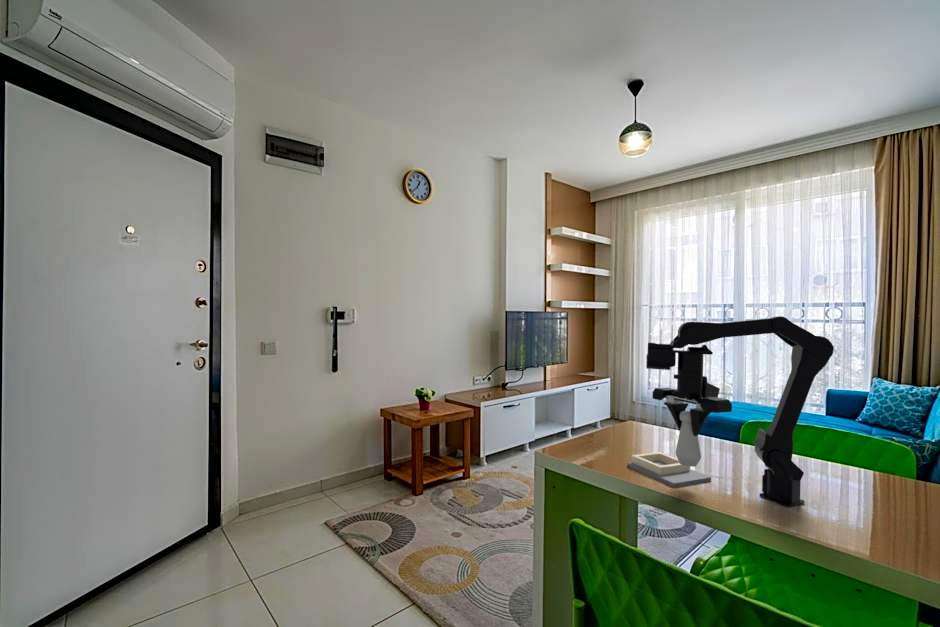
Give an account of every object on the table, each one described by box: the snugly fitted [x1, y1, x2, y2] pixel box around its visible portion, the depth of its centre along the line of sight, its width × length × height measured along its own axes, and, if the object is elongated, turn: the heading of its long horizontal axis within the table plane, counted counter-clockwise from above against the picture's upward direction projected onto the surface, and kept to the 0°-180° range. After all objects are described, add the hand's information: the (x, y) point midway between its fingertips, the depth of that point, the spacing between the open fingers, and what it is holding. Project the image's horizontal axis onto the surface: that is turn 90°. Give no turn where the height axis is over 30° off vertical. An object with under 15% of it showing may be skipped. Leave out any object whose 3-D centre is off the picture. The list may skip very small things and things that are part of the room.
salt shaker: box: [675, 410, 702, 468], centre depth 107 cm, size 6×6×13 cm
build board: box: [626, 451, 712, 488], centre depth 116 cm, size 16×13×3 cm
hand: (688, 433), depth 107 cm, fingers closed on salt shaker, 4 cm apart
